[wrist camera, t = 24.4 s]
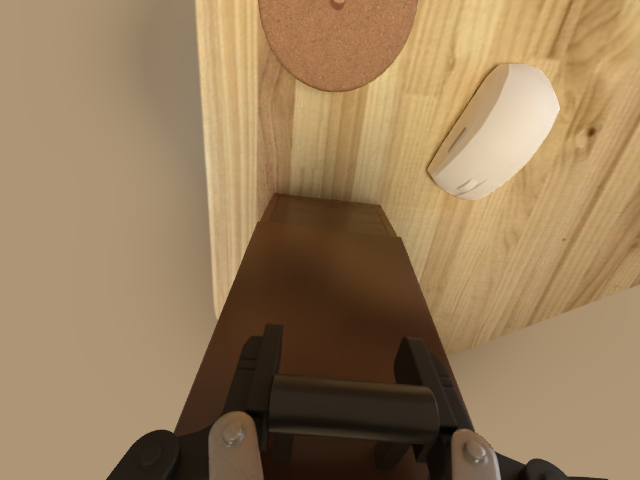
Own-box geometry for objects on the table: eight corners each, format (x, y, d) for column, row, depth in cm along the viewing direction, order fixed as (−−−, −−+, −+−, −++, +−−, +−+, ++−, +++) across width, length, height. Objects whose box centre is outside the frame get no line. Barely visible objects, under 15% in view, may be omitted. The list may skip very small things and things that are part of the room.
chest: (354, 319, 41) (362, 371, 33) (268, 310, 40) (255, 361, 33) (380, 205, 33) (398, 238, 25) (273, 193, 33) (258, 222, 25)
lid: (505, 542, 10) (612, 497, 7) (145, 520, 9) (90, 462, 6) (398, 244, 25) (417, 188, 22) (257, 228, 25) (257, 169, 22)
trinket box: (415, -13, 24) (465, -71, 16) (359, 112, 29) (375, 117, 20) (300, -81, 23) (288, -188, 14) (259, 63, 27) (231, 47, 19)
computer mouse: (418, 176, 32) (439, 192, 26) (499, 52, 26) (547, 39, 21) (464, 200, 33) (493, 221, 27) (550, 87, 28) (608, 83, 22)
